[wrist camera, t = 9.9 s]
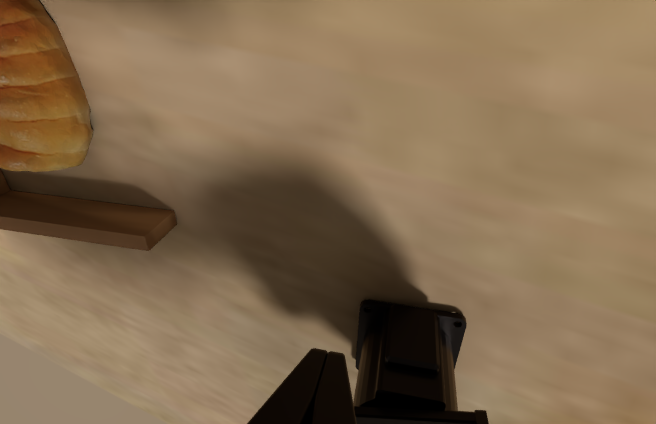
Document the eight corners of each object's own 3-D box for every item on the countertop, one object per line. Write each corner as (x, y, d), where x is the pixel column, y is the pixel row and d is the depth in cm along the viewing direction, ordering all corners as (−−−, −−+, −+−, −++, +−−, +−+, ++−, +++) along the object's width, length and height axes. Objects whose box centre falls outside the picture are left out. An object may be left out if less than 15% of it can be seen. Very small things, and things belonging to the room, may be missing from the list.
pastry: (-42, -29, 19) (-135, -34, 16) (76, -9, 19) (4, -10, 15) (14, 143, 24) (-48, 166, 21) (109, 164, 23) (60, 191, 20)
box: (177, 224, 24) (148, 250, 22) (4, 201, 27) (-40, 223, 24) (106, -90, 16) (48, -105, 14) (-133, -83, 19) (-221, -95, 16)
